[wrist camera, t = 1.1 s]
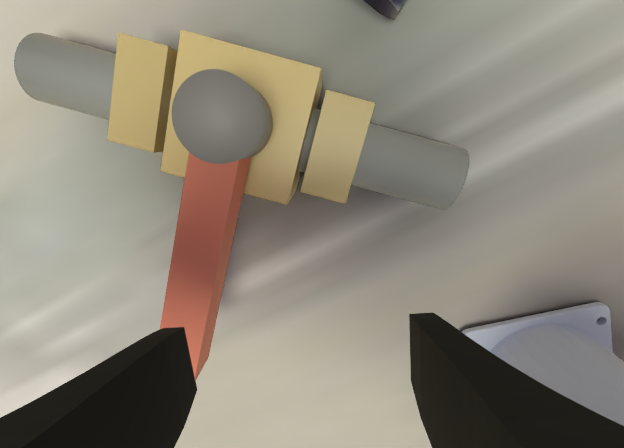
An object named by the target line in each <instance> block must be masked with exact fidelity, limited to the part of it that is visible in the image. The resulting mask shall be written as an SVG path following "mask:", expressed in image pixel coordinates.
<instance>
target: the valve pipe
mask: <svg viewBox="0 0 624 448" xmlns="http://www.w3.org/2000/svg"><path fill="white" fill-rule="evenodd" d="M14 67H15V73H16V76H17V79H18V81H19V83H20V85H21V87H22V88H23V90H24V91H25V92H26V93H27V94H28V95H29V96H30V97H32V98H34V99H36V100H38V101H42V102H45V103H49V104H53V105H57V106H60V107H64V108H68V109H71V110H75V111H79V112H82V113H86V114H90V115H94V116H97V117H101V118H105V119H108V120H109V128H108V138H107V140H109V141H113V142H117V143H120V144H124V145H128V146H131V147H135V148H139V149H143V150H146V151H150V152H163V157H162V164H161V171H162V172H166V173H169V174H173V175H177V176H181V177H184V178H185V173H186V167H187V161H188V155H189V151H187V149H186V148H185V147H184V146H183V145H182V143H181V142H180V141H179V139H178V137H177V135H176V133H175V130H174V127H173V123H172V104H173V100H174V97H175V94H176V92H177V90H178V88H179V87H180V86H181V84H182V83H183V82H184V81H185V80H186V79H187V78H188V77H190V76H191V75H193V74H195V73H197V72H199V71H202V70H207V69H219V70H224V71H227V72H230V73H232V74H234V75H236V76H238V77H239V78H241V79H242V80H243V81H245V82H246V83H248V84H249V85H251V86H252V87H253V88H255V89H256V90H257V91H259V92H260V93H261V94H262V95H263V97H264V98H265V99H266V101H267V103H268V105H269V107H270V110H271V113H272V119H273V127H272V133H271V136H270V139H269V141H268V142H267V144H266V146H265V147H264V148H263V149H262V150H261V151H260V152H259V153H257V154H256V155H254V156H252V157H251V158H250V162H249V167H248V172H247V177H246V181H245V186H244V191H243V193H244V194H248V195H252V196H255V197H259V198H263V199H266V200H270V201H274V202H278V203H281V204H285V205H288V203H289V202H290V200H291V198H292V197H293V195H294V194H295V192H296V189H297V185H298V181H299V177H300V173H301V172H305V175H304V179H303V183H302V187H301V191H300V192H303V193H306V194H310V195H314V196H317V197H321V198H325V199H329V200H332V201H336V202H340V203H343V204H346V201H347V198H348V194H349V191H350V187H351V185H353V186H357V187H360V188H364V189H368V190H371V191H375V192H379V193H383V194H386V195H390V196H394V197H397V198H401V199H405V200H408V201H412V202H416V203H420V204H423V205H427V206H431V207H434V208H438V209H442V210H445V209H447V208H449V207H450V206H451V205H452V204H453V203H454V201H455V200H456V199H457V197H458V195H459V194H460V192H461V190H462V188H463V185H464V183H465V180H466V177H467V173H468V168H469V154H468V152H467V150H466V149H463V148H460V147H456V146H452V145H449V144H445V143H441V142H438V141H434V140H430V139H427V138H423V137H419V136H416V135H412V134H409V133H405V132H401V131H398V130H394V129H390V128H387V127H383V126H379V125H376V124H372V123H370V119H371V116H372V113H373V109H374V106H375V103H373V102H370V101H366V100H362V99H359V98H355V97H352V96H348V95H344V94H341V93H337V92H333V91H330V90H326V93H325V97H324V101H323V105H322V109H317V105H318V101H319V97H320V94H321V90H322V86H323V81H322V71H321V68H319V67H315V66H312V65H308V64H304V63H301V62H297V61H293V60H290V59H286V58H283V57H279V56H275V55H272V54H268V53H264V52H261V51H257V50H254V49H250V48H246V47H243V46H239V45H235V44H232V43H228V42H225V41H221V40H217V39H214V38H210V37H206V36H203V35H199V34H196V33H192V32H188V31H185V30H181V32H180V39H179V46H178V52H177V51H176V50H174V49H172V48H171V47H169V46H166V45H162V44H159V43H155V42H151V41H148V40H144V39H140V38H137V37H133V36H130V35H126V34H122V33H119V32H118V38H117V48H116V53H112V52H109V51H105V50H101V49H98V48H94V47H91V46H87V45H83V44H80V43H76V42H72V41H69V40H65V39H61V38H58V37H54V36H50V35H47V34H43V33H32V34H29V35H27V36H26V37H24V38H23V39H22V40H21V42H20V43H19V45H18V47H17V50H16V53H15V59H14Z"/></svg>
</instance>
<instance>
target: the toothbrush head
mask: <svg viewBox="0 0 624 448" xmlns="http://www.w3.org/2000/svg"><path fill="white" fill-rule="evenodd" d="M364 1H365V2H366V3H368V4H369V5H370V6H371V7H373V8H374V9H375V10H377V11H378V12H379V13H381V14H384V15H386V16H388V17H390V18H392V19H395V18H396V16H397V15H398V13H399V12H400V10H401V9H402V7H403V6H404V4H405V3H406V1H407V0H364Z"/></svg>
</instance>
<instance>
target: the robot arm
mask: <svg viewBox="0 0 624 448" xmlns="http://www.w3.org/2000/svg"><path fill="white" fill-rule="evenodd" d="M600 317H601V319H600V320H599V321H597V320H598V318H600ZM410 356H411V382H412V386H413V390H414V394H415V397H416V401H417V405H418V409H419V412H420V416H421V419H422V422H423V425H424V427H425V430H426V432H427V435H428V438H429V440H430V443H431V445H432V448H624V361H623V360H621V359H620V358H618V357H617V356H616V355H614V354H613V346H612V332H611V317H610V309H609V307H608V306H606V305H605V304H603V303H601V302H594V303H589V304H584V305H579V306H574V307H570V308H565V309H560V310H555V311H550V312H545V313H540V314H536V315H531V316H526V317H521V318H516V319H511V320H507V321H502V322H497V323H492V324H487V325H482V326H477V327H473V328H468V329H465V330H463V331H462V332H461V331H459V330H458V329H456V328H455V327H453V326H452V325H451V324H449V323H448V322H446V321H445V320H443V319H442V318H441V317H439V316H438V315H436V314H434V313H419V314H410ZM196 391H197V387H196V382H195V377H194V372H193V367H192V362H191V358H190V353H189V348H188V343H187V338H186V333H185V328H184V327H175V328H162V329H160V330H158V331H156V332H154V333H152V334H150V335H148V336H146V337H144V338H143V339H141V340H139V341H137V342H136V343H134V344H132V345H130V346H129V347H127V348H125V349H124V350H122V351H120V352H118V353H117V354H115V355H113V356H112V357H110V358H108V359H107V360H105V361H103V362H102V363H100V364H98V365H96V366H95V367H93V368H91V369H90V370H88V371H86V372H85V373H83V374H81V375H79V376H77V377H76V378H74V379H72V380H70V381H68V382H67V383H65V384H63V385H61V386H59V387H58V388H56V389H54V390H52V391H50V392H49V393H47V394H45V395H43V396H42V397H40V398H38V399H36V400H34V401H32V402H30V403H29V404H27V405H25V406H23V407H21V408H19V409H17V410H15V411H13V412H11V413H9V414H7V415H5V416H3V417H1V418H0V448H174V446H175V444H176V442H177V440H178V438H179V436H180V434H181V432H182V430H183V428H184V425H185V423H186V420H187V417H188V415H189V412H190V409H191V406H192V403H193V400H194V397H195V394H196Z"/></svg>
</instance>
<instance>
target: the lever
mask: <svg viewBox="0 0 624 448" xmlns="http://www.w3.org/2000/svg"><path fill="white" fill-rule="evenodd" d="M172 123H173V127H174V130H175V133H176V135H177V137H178V139H179V141H180V142H181V143H182V145H183V146H184V147H185V148H186V149H187V151H189V155H188V161H187V167H186V173H185V180H184V186H183V192H182V198H181V204H180V210H179V216H178V222H177V228H176V235H175V241H174V247H173V253H172V259H171V265H170V271H169V277H168V283H167V289H166V296H165V302H164V308H163V314H162V320H161V326H160V329H162V328H175V327H184V328H185V333H186V338H187V343H188V348H189V353H190V358H191V362H192V367H193V372H194V377H195V381H196V379H197V377H198V375H199V373H200V372H201V370H202V368H203V366H204V364H205V362H206V361H207V359H208V356H209V352H210V347H211V342H212V338H213V333H214V328H215V323H216V319H217V314H218V309H219V304H220V300H221V295H222V290H223V285H224V281H225V276H226V271H227V267H228V262H229V257H230V252H231V248H232V243H233V238H234V233H235V229H236V224H237V219H238V214H239V210H240V205H241V200H242V196H243V191H244V186H245V181H246V177H247V172H248V167H249V162H250V158H251V157H252V156H254V155H256V154H257V153H259V152H260V151H261V150H262V149H263V148H264V147H265V146H266V144H267V142H268V141H269V139H270V136H271V133H272V127H273V119H272V113H271V110H270V107H269V105H268V103H267V101H266V99H265V98H264V97H263V95H262V94H261V93H260V92H259V91H257V90H256V89H255V88H253V87H252V86H251V85H249V84H248V83H246V82H245V81H243V80H242V79H241V78H239V77H238V76H236V75H234V74H232V73H230V72H227V71H224V70H219V69H207V70H202V71H199V72H197V73H195V74H193V75H191V76H190V77H188V78H187V79H186V80H185V81H184V82H183V83H182V84H181V86H180V87H179V88H178V90H177V92H176V94H175V97H174V100H173V104H172Z"/></svg>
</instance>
